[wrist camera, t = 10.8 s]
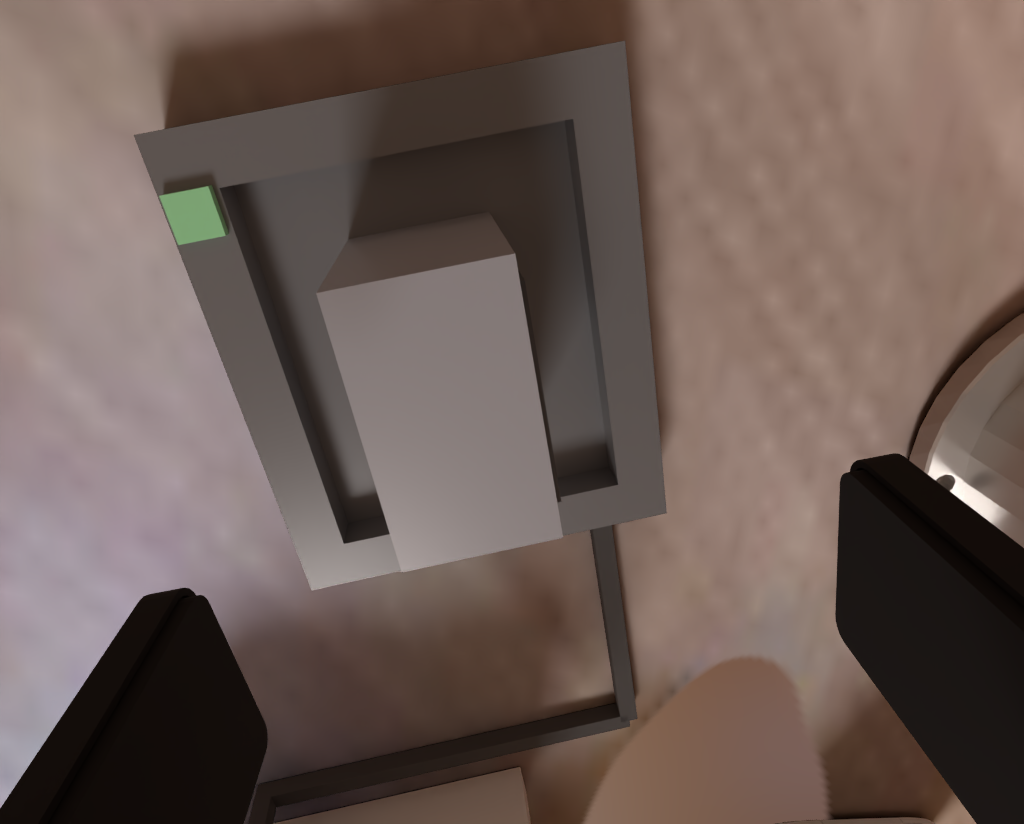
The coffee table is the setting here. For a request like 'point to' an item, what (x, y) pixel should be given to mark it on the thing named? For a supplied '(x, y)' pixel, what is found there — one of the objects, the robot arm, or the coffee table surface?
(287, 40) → the coffee table surface
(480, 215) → the grey rectangular block
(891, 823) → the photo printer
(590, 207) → the charging cradle
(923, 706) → the robot arm
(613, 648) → the dark piece
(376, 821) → the plate
